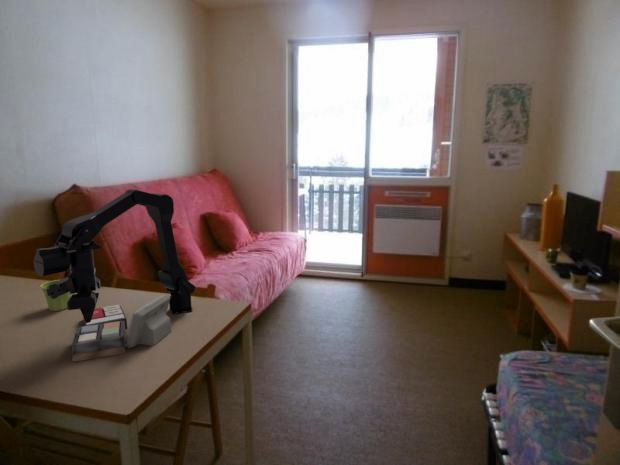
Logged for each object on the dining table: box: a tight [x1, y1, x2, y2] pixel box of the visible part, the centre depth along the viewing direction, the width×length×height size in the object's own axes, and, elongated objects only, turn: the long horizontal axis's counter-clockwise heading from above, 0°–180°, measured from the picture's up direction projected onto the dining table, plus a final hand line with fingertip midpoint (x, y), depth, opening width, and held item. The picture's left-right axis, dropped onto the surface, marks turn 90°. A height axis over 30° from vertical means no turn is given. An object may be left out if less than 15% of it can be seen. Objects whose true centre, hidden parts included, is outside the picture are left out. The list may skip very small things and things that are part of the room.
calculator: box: [82, 304, 128, 330], centre depth 124 cm, size 11×4×15 cm
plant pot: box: [40, 279, 72, 312], centre depth 137 cm, size 9×9×9 cm
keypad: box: [71, 320, 127, 362], centre depth 110 cm, size 12×14×4 cm
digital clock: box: [125, 294, 172, 349], centre depth 114 cm, size 16×9×11 cm, turn 157°
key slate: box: [81, 325, 99, 334], centre depth 111 cm, size 4×4×2 cm
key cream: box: [78, 333, 97, 343], centre depth 106 cm, size 4×4×2 cm
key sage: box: [102, 327, 120, 339], centre depth 108 cm, size 4×4×2 cm
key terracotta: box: [103, 322, 120, 329], centre depth 113 cm, size 4×4×2 cm
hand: (88, 322), depth 110 cm, fingers closed
